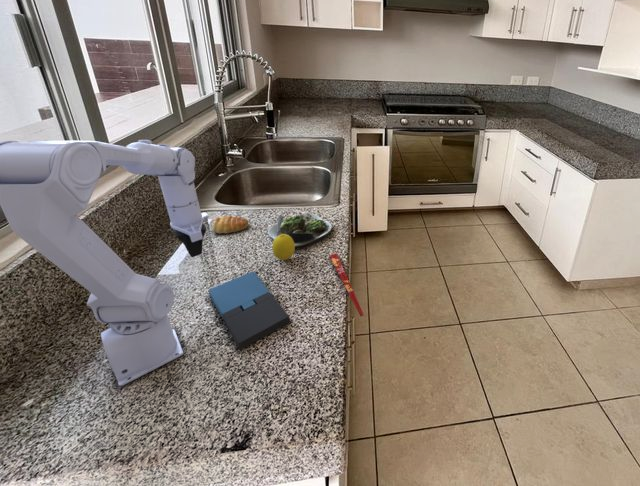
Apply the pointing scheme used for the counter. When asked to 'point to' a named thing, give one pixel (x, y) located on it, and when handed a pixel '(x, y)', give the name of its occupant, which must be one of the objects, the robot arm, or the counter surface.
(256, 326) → the charcoal pad
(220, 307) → the blue pad
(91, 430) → the counter surface
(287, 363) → the counter surface
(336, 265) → the chopstick
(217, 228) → the pastry
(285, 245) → the lemon
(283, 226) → the salad plate
